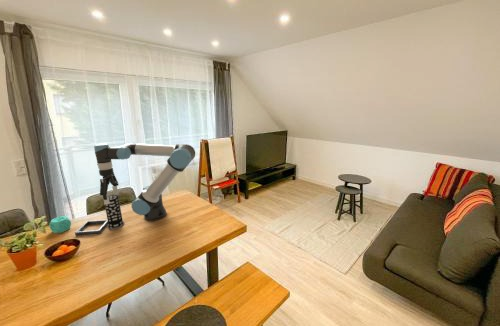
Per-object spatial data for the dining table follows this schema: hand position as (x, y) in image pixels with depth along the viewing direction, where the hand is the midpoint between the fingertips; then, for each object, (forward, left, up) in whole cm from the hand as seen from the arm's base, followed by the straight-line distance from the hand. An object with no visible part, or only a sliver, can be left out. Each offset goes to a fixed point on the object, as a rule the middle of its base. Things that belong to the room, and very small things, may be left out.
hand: (111, 199), depth 143 cm
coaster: (0, 0, -19) cm, 19 cm away
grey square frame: (+13, +2, -19) cm, 24 cm away
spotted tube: (0, 0, -19) cm, 19 cm away
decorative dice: (+33, 0, -20) cm, 39 cm away
